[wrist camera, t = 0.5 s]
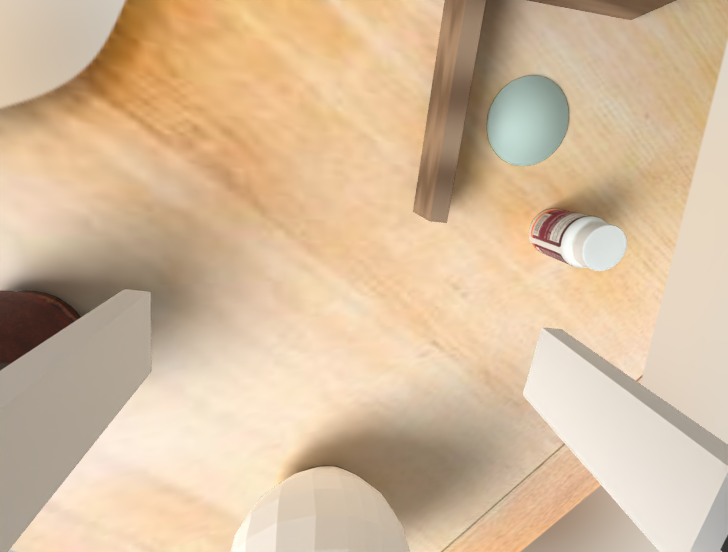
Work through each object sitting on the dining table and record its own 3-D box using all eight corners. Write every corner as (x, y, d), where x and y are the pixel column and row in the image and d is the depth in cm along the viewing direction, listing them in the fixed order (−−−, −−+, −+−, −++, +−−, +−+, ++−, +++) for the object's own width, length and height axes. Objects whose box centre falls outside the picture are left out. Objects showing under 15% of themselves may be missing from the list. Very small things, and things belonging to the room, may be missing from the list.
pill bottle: (574, 242, 41) (635, 263, 33) (533, 259, 41) (584, 284, 33) (565, 200, 40) (627, 211, 32) (522, 217, 40) (573, 233, 32)
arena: (450, -36, 32) (478, -77, 27) (636, 0, 35) (698, -30, 29) (413, 211, 38) (429, 221, 33) (574, 228, 41) (616, 240, 35)
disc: (496, 69, 35) (498, 69, 35) (576, 82, 36) (578, 82, 36) (479, 160, 38) (480, 160, 37) (555, 170, 39) (556, 170, 38)
